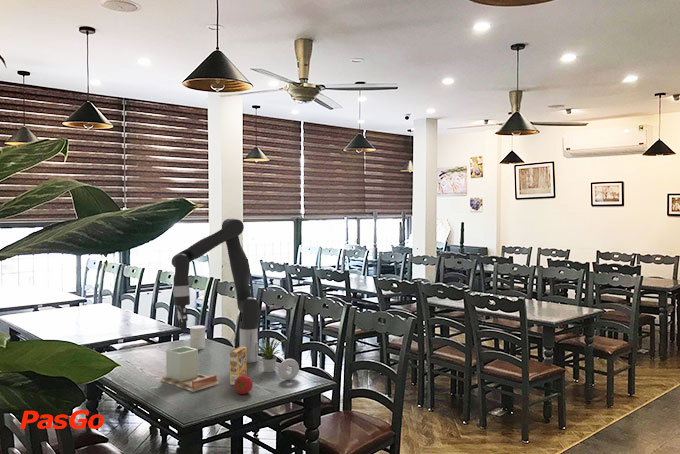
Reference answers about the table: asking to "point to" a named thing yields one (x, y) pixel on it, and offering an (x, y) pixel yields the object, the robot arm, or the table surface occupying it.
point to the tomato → (243, 384)
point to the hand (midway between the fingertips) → (182, 329)
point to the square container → (182, 363)
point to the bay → (194, 382)
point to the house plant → (269, 355)
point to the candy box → (237, 364)
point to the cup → (197, 337)
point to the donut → (293, 372)
